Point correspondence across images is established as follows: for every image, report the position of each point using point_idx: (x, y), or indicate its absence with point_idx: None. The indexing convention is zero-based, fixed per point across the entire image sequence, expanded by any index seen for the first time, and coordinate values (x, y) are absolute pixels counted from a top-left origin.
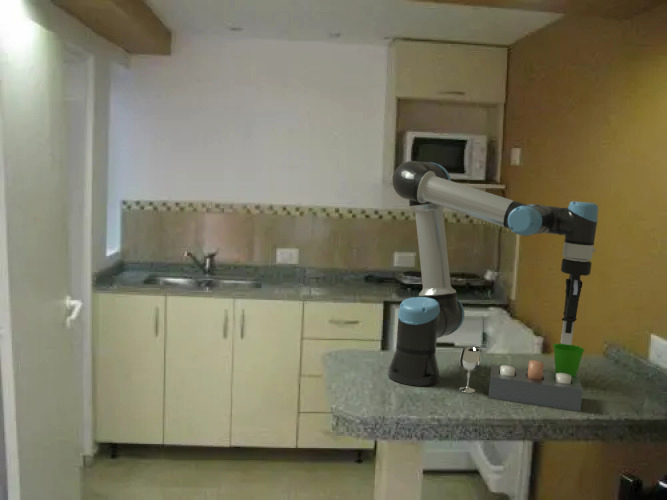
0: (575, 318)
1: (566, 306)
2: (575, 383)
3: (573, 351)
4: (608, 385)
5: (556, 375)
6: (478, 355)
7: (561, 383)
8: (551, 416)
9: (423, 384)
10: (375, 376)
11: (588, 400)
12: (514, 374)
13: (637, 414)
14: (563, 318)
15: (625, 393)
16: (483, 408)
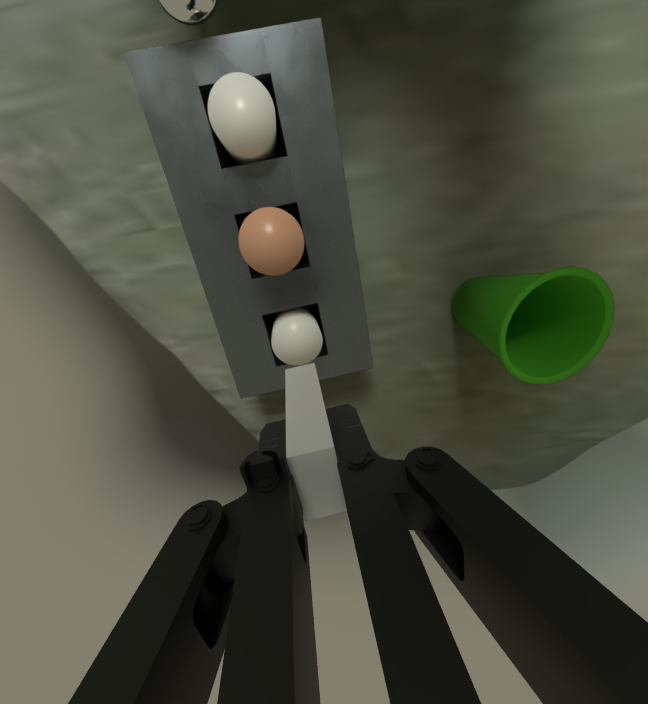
0: (202, 591)
1: (293, 609)
2: None
3: (574, 336)
4: (501, 398)
5: (285, 319)
6: None
7: (260, 336)
8: (151, 316)
9: None
10: None
11: (351, 375)
12: (248, 157)
13: None
14: (266, 471)
15: (456, 435)
16: (36, 102)
